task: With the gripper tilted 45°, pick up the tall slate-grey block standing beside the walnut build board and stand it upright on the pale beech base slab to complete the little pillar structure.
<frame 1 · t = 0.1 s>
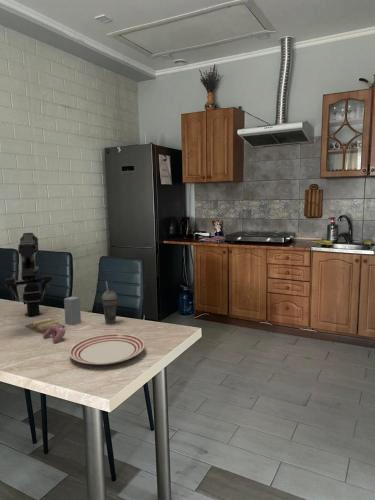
hand: (30, 300, 161), 15 cm above the table, tool tilted 35°, fingers open, 9 cm apart
dinner plate: (108, 355, 140), on the table
video game controller: (54, 339, 156), on the table
build board: (45, 326, 172), on the table
slate pillar block: (73, 322, 177), on the table
beverage cup: (110, 323, 177), on the table
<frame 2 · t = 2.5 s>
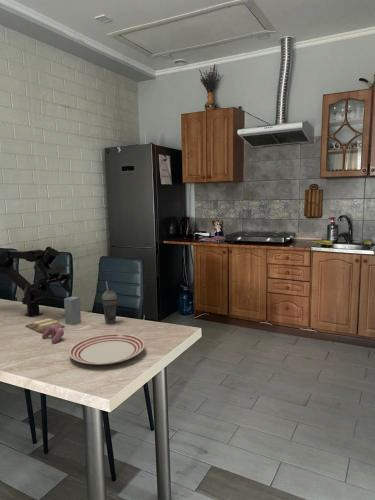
hand: (62, 294, 179), 13 cm above the table, tool tilted 45°, fingers open, 9 cm apart
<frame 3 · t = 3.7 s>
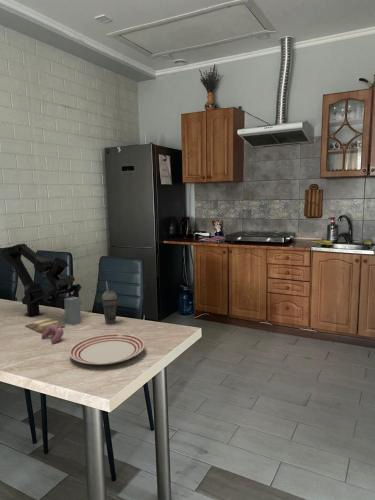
hand: (72, 306, 177), 8 cm above the table, tool tilted 45°, fingers open, 9 cm apart
nothing on the table moved.
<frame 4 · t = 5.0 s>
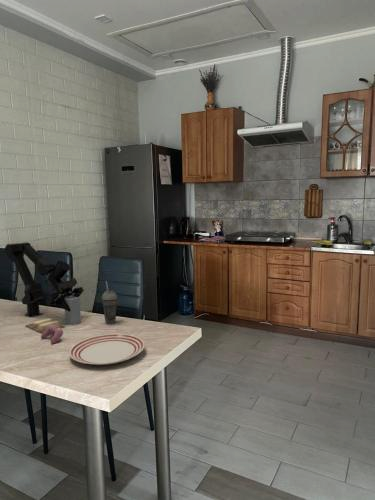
hand: (74, 309, 176), 7 cm above the table, tool tilted 45°, fingers closed on slate pillar block, 5 cm apart
slate pillar block: (73, 322, 177), on the table, touching gripper
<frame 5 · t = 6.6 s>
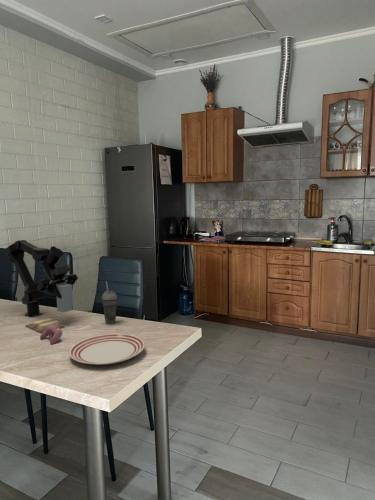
hand: (66, 296, 173), 13 cm above the table, tool tilted 45°, fingers closed on slate pillar block, 5 cm apart
slate pillar block: (65, 310, 175), point 7 cm above the table, touching gripper
when the fingers open (10 cm above the table, at t = 8.5 s): slate pillar block drops 1 cm, resting on build board.
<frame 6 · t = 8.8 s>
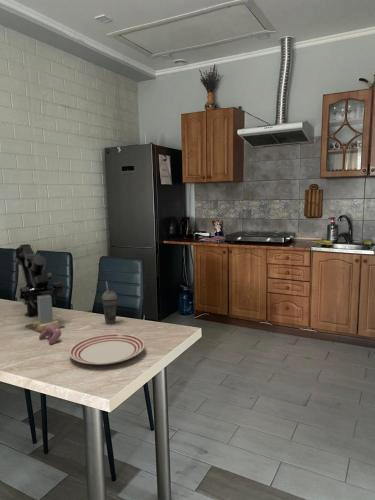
hand: (45, 305, 169), 10 cm above the table, tool tilted 45°, fingers open, 9 cm apart
slate pillar block: (45, 321, 171), point 3 cm above the table, touching build board
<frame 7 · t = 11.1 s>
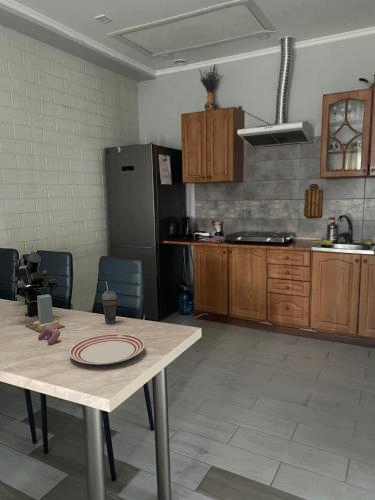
hand: (40, 301, 176), 10 cm above the table, tool tilted 45°, fingers open, 9 cm apart
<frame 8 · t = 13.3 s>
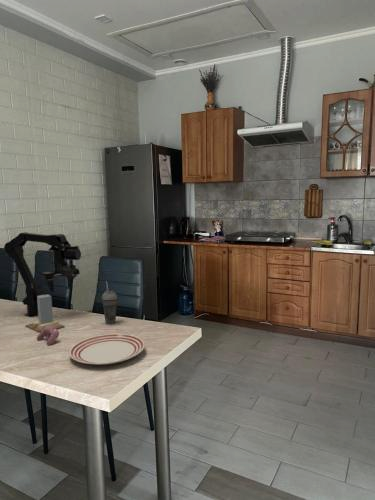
hand: (61, 290, 187), 13 cm above the table, tool pointing down, fingers open, 9 cm apart
at the end: slate pillar block 0.0 cm from the target spot, point 2.6 cm above the table; slate pillar block tilted 0°; the gripper is holding nothing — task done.
